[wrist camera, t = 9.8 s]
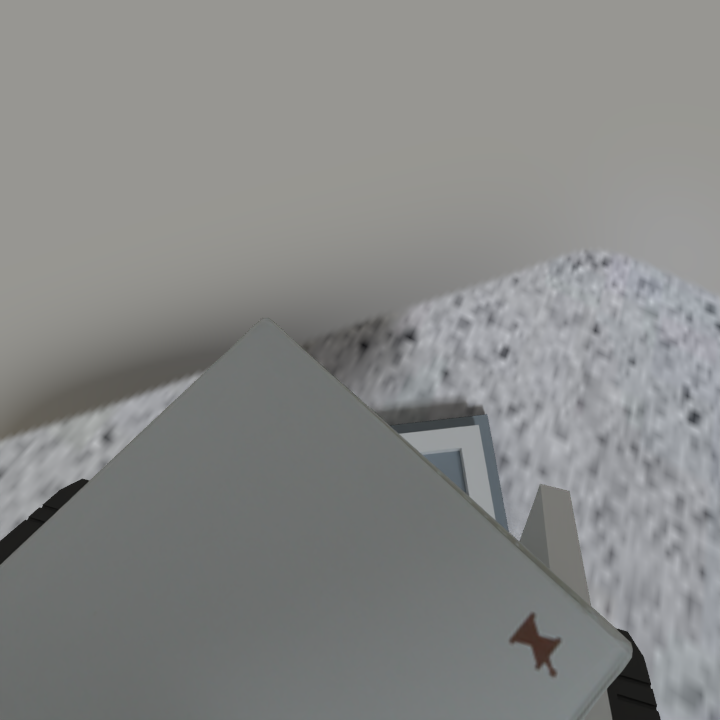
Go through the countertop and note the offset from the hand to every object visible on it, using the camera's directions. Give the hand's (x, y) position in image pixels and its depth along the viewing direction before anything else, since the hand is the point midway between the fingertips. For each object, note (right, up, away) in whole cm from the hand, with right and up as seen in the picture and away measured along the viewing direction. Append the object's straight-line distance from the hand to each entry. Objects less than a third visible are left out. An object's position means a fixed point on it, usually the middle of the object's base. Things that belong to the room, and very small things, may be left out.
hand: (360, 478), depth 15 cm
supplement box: (0, -4, +4) cm, 6 cm away
